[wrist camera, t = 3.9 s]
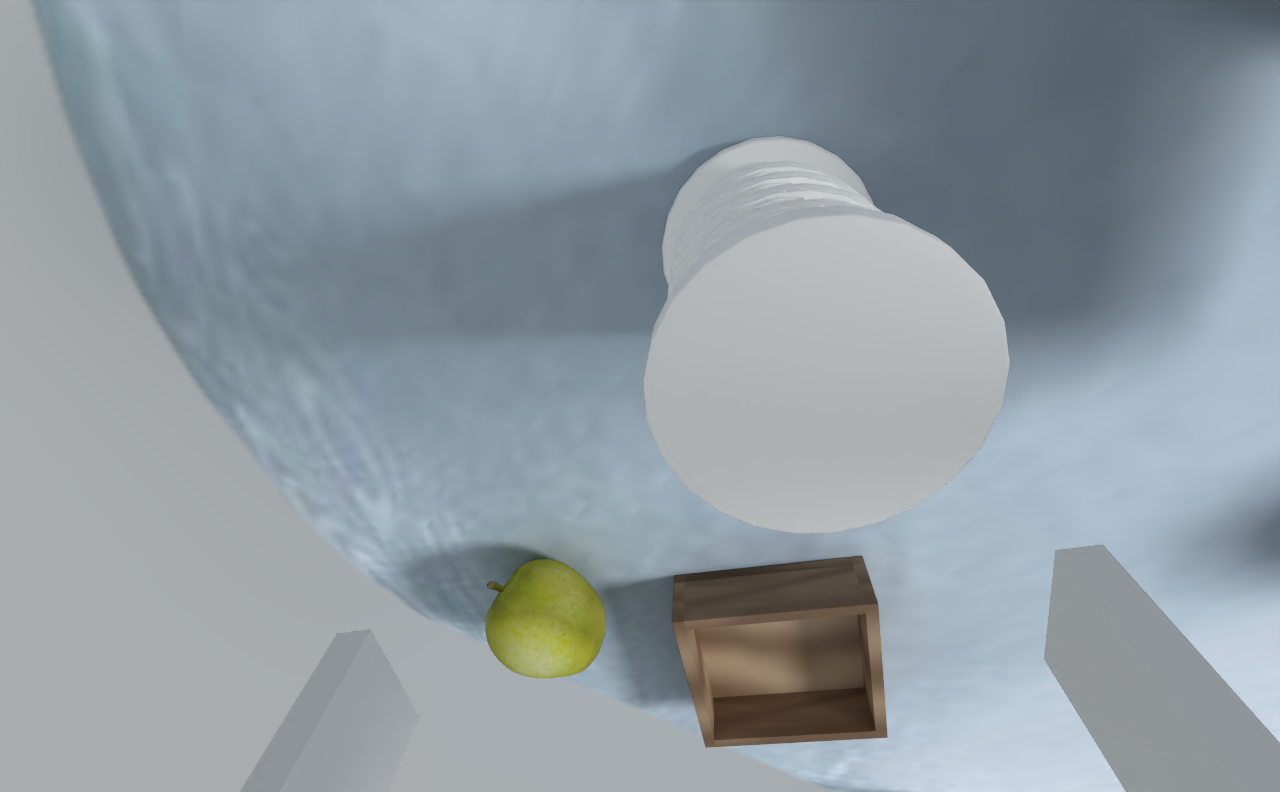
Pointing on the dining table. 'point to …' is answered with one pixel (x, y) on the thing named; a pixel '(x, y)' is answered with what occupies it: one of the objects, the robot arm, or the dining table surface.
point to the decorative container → (815, 346)
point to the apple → (545, 621)
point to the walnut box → (782, 652)
